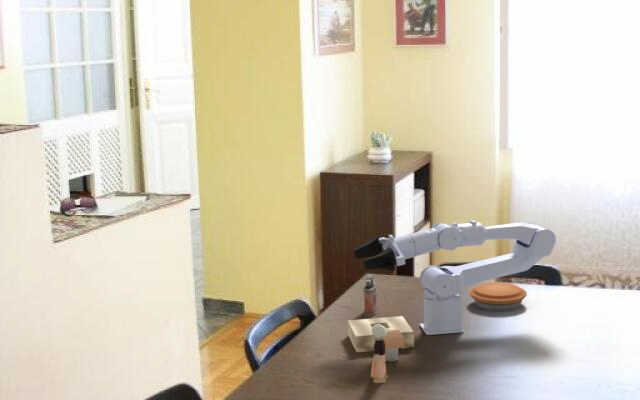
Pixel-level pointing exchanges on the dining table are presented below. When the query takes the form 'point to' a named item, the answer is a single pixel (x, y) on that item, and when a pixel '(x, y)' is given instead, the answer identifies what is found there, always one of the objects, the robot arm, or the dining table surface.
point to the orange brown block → (393, 344)
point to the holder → (363, 333)
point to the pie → (498, 296)
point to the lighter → (370, 297)
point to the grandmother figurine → (379, 354)
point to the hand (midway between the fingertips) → (359, 259)
